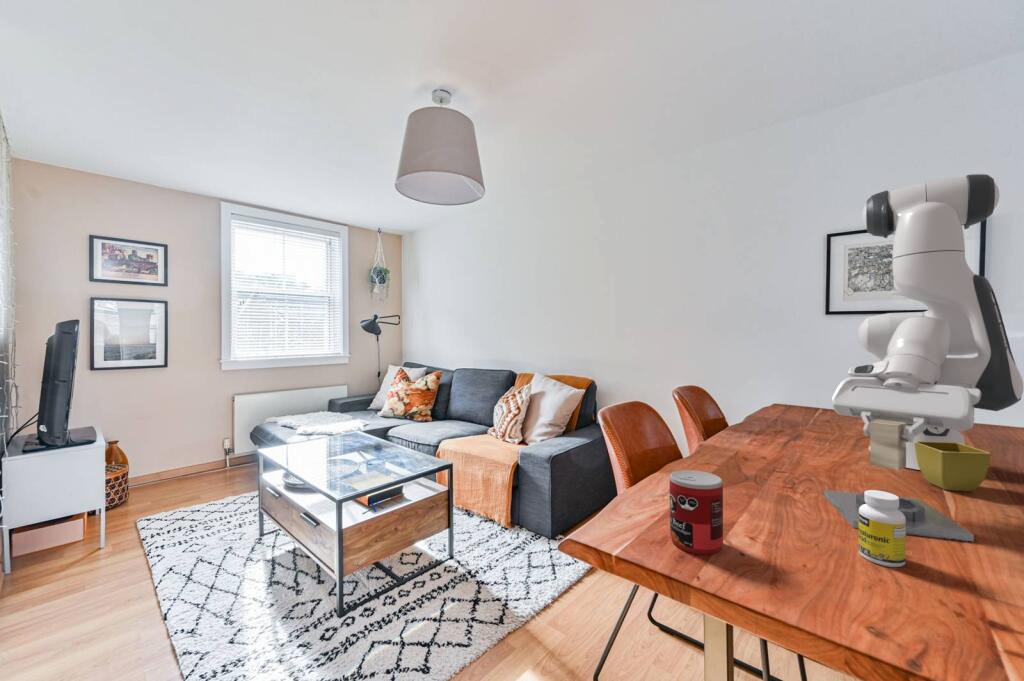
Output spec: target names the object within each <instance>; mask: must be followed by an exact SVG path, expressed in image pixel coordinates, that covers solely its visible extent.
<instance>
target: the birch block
mask: <svg viewBox="0 0 1024 681" xmlns="http://www.w3.org/2000/svg"><path fill="white" fill-rule="evenodd" d="M869 424H870V436H869V441H870V442H869V446H870V450H869V455H870V456H869V465H870V466H875V467H880V468H884V469H890V470H895V471H900V470H902V469H904V468H907V467H906V441H902V440H901V438H900V433H901V430H902V428H904V429H906V423H902V422H894V421H886V420H876V419H874V420H873V421H872V422H869Z"/></svg>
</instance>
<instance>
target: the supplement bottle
mask: <svg viewBox="0 0 1024 681" xmlns="http://www.w3.org/2000/svg"><path fill="white" fill-rule="evenodd" d="M863 493H864V499H865V502H866V503H867V504H863V505H861V506H860V508H859V528H858V552H859V554H860V555H861V557H862V558H864V559H866V560H868V561H869V562H872V563H874V564H877V565H879V566H880V565H881V566H884V567H890V568H899V567H903V566H905V565H906V560H907V559H906V558H907V557H906V553H907V549H906V548H907V544H906V543H907V540H906V538H907V534H906V519H905V516H904V514H903V513H902V512H901V511H899V510H897V508H899V497H900V496H899V497H898V495H896V494H894V493H891V492H888V491H884V490H883V491H882V490H876V489H868V490H865V491H864V492H863Z"/></svg>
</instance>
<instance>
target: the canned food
mask: <svg viewBox="0 0 1024 681" xmlns="http://www.w3.org/2000/svg"><path fill="white" fill-rule="evenodd" d="M723 487H724V485H723V479H722V478H721V477H720V476H718V475H716V474H713V473H711V472H707V471H702V470H693V469H690V470H689V469H687V470H686V469H684V470H683V469H681V470H675V471H673V472H670V474H669V528H670V529H669V530H670V531H669V532H670V533H669V535H670V538H671V542H672V544H673V545H674V546H676V547H677V548H679V549H680V550H683V551H685V552H688V553H691V554H697V555H713V554H717V553H719V552H720V551H722V550H721V549H722V548H723V545H724V489H723Z"/></svg>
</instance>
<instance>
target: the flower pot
mask: <svg viewBox="0 0 1024 681" xmlns="http://www.w3.org/2000/svg"><path fill="white" fill-rule="evenodd" d="M914 444H915V451H916V457H917V463H918V466H919V468H920V470H919V471H920V472H921V474H922V475H923V477H924V479H925V480H926V481H927V482H928V483H930V484H932V485H934V486H936V487H938V488H940V489H942V490H945V491H955V492H956V491H957V492H958V491H959V492H974V491H975V490H977V489H978V487H980V486H981V484H982V483H983V482H984V480H985V479H986V477H987V472H988V469H989V465H990V461H991V460H990V458H991V456H992V455H991V454H992V453H990V452H988V451H985V450H984V449H983V450H982V449H979V448H976V447H973V446H970V445H967V444H965V443H964V444H965V445H964V444H960V443H953V442H922V441H915V442H914Z"/></svg>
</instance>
